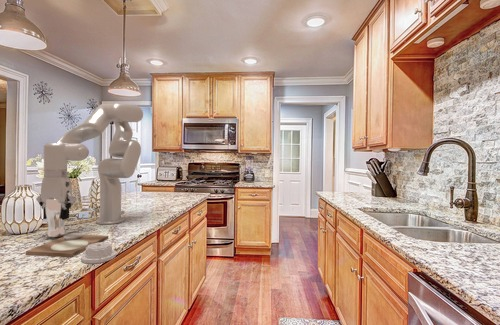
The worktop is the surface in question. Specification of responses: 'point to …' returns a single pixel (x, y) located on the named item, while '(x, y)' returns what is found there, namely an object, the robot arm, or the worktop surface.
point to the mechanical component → (98, 253)
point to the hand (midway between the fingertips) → (56, 218)
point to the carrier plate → (67, 245)
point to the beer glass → (54, 218)
